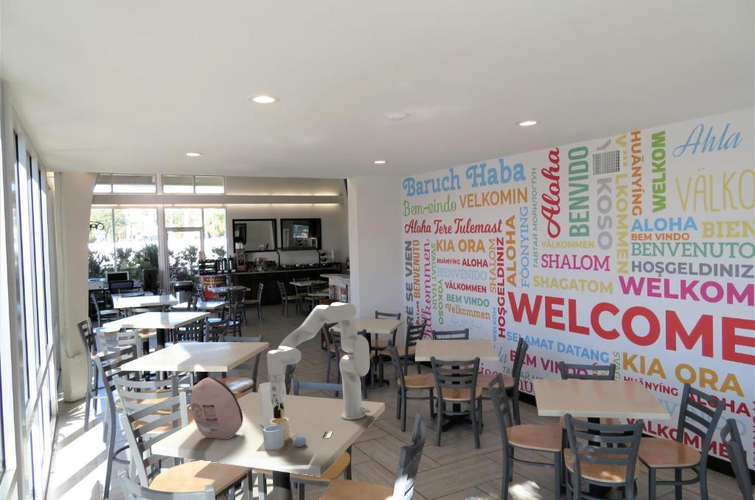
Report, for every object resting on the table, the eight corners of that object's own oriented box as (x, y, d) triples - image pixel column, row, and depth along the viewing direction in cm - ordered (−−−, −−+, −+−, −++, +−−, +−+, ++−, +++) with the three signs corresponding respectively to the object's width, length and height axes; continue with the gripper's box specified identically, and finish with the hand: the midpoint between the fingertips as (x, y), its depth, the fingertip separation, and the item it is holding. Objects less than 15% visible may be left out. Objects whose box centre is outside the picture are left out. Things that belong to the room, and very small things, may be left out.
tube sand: (291, 434, 240) (290, 417, 240) (286, 440, 232) (285, 423, 232) (274, 434, 241) (273, 417, 241) (268, 441, 232) (267, 423, 232)
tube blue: (285, 442, 230) (284, 424, 230) (280, 449, 222) (279, 431, 222) (267, 442, 231) (266, 425, 231) (261, 450, 222) (260, 432, 222)
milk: (275, 426, 255) (272, 383, 255) (263, 429, 252) (261, 385, 252) (271, 423, 260) (269, 380, 260) (259, 426, 257) (257, 382, 257)
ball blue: (307, 444, 228) (306, 433, 227) (304, 449, 223) (304, 437, 222) (296, 445, 228) (295, 433, 228) (293, 449, 223) (293, 438, 223)
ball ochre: (286, 417, 238) (285, 406, 238) (283, 420, 233) (282, 410, 233) (275, 417, 239) (274, 406, 239) (272, 421, 234) (271, 410, 234)
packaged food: (249, 432, 249) (245, 371, 248) (222, 448, 231) (218, 382, 231) (214, 428, 258) (211, 369, 257) (185, 443, 240) (181, 380, 239)
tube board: (332, 431, 243) (332, 429, 243) (323, 452, 219) (322, 449, 219) (272, 433, 246) (272, 431, 246) (256, 453, 222) (256, 451, 222)
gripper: (279, 381, 227) (282, 422, 227) (289, 372, 244) (291, 410, 244) (263, 382, 228) (265, 422, 228) (274, 372, 245) (276, 410, 245)
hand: (279, 415), depth 236 cm, fingers closed on ball ochre, 4 cm apart
